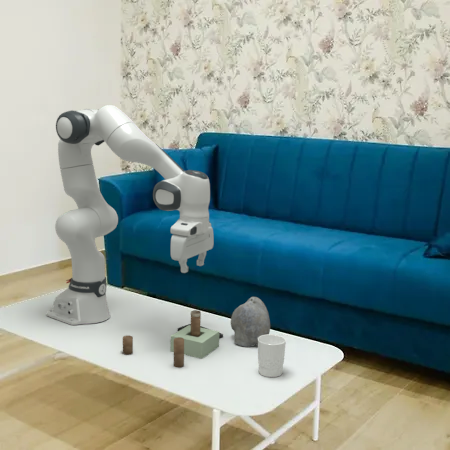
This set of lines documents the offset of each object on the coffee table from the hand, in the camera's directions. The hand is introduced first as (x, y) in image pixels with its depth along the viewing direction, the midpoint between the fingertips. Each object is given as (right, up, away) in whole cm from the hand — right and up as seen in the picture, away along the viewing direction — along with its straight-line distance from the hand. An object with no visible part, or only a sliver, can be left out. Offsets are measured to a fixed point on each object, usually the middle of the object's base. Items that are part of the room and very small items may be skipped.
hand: (192, 268), depth 192 cm
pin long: (+1, -25, +2) cm, 25 cm away
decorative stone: (+18, -24, +9) cm, 31 cm away
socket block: (+1, -25, +2) cm, 25 cm away
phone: (+2, -23, +15) cm, 27 cm away
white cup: (+23, -29, -14) cm, 39 cm away
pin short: (-19, -25, -3) cm, 32 cm away
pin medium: (-3, -27, -10) cm, 29 cm away
